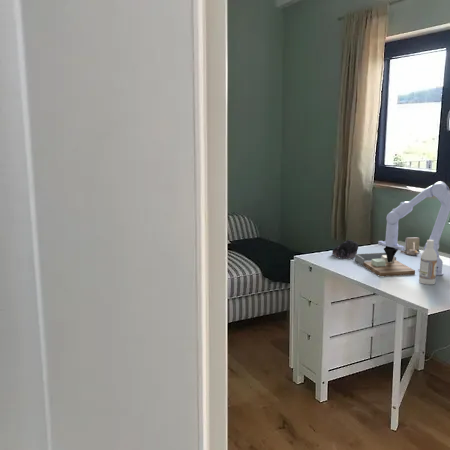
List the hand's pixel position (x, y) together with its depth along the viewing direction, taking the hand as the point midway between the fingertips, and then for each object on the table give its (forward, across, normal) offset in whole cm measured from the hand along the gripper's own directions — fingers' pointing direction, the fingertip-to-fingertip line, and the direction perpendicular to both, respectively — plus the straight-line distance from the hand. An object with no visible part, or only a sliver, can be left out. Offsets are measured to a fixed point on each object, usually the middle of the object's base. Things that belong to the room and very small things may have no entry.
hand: (389, 261), depth 258 cm
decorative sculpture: (+3, +12, -33) cm, 35 cm away
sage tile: (+1, +2, +7) cm, 7 cm away
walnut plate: (+3, -3, +4) cm, 6 cm away
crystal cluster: (+3, +28, +3) cm, 28 cm away
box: (+3, +10, -1) cm, 11 cm away
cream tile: (+1, +3, -2) cm, 4 cm away
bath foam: (+3, -25, +5) cm, 26 cm away
